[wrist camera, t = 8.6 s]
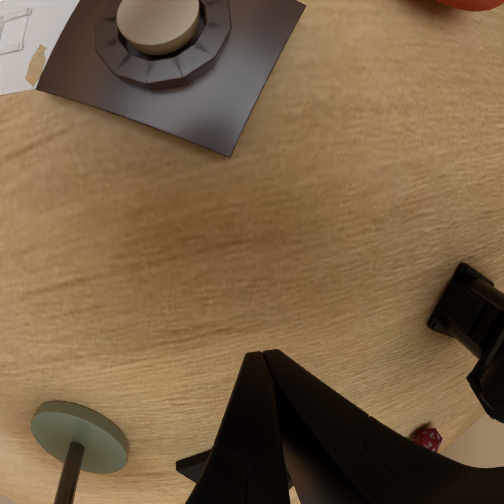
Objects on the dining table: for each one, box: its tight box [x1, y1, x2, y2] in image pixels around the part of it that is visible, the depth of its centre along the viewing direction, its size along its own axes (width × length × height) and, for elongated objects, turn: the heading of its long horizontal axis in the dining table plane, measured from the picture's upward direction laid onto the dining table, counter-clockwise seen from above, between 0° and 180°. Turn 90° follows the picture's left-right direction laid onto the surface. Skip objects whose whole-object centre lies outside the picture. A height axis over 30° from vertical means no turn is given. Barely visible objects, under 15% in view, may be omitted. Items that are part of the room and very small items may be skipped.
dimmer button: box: [117, 0, 199, 55], centre depth 11 cm, size 4×4×2 cm
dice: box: [413, 428, 443, 453], centre depth 29 cm, size 4×4×4 cm
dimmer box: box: [35, 0, 306, 158], centre depth 13 cm, size 12×10×4 cm
